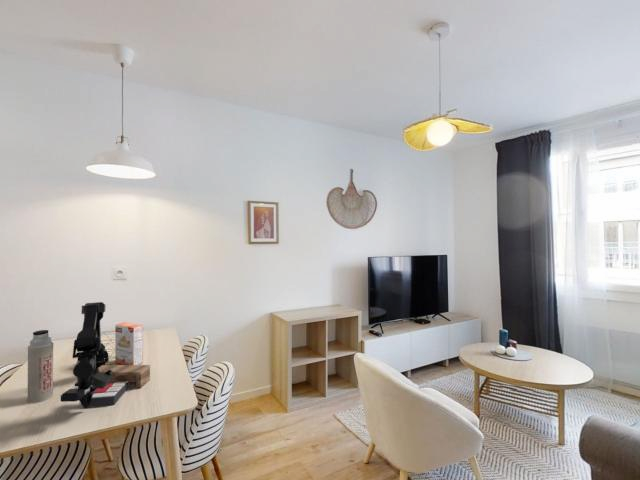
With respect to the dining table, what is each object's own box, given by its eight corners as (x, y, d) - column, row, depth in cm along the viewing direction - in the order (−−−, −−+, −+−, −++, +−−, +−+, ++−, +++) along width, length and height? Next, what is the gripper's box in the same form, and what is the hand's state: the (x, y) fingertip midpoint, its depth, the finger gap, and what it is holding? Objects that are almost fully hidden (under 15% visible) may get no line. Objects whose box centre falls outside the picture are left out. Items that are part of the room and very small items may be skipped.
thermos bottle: (56, 396, 133) (56, 330, 132) (31, 404, 126) (31, 335, 126) (48, 391, 137) (49, 327, 137) (24, 399, 130) (24, 332, 130)
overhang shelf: (90, 388, 140) (90, 372, 140) (102, 380, 148) (102, 365, 148) (140, 388, 141) (140, 372, 141) (149, 380, 149) (150, 365, 149)
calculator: (128, 380, 141) (114, 394, 127) (128, 389, 141) (114, 405, 126) (101, 382, 139) (83, 397, 124) (101, 392, 139) (83, 408, 124)
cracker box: (114, 363, 168) (114, 324, 168) (125, 359, 173) (125, 321, 173) (132, 367, 162) (133, 327, 162) (143, 363, 168) (143, 324, 168)
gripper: (91, 378, 113) (91, 421, 113) (122, 358, 131) (122, 395, 131) (59, 378, 112) (59, 422, 112) (95, 358, 131) (94, 395, 131)
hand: (86, 407), depth 122 cm, fingers closed
